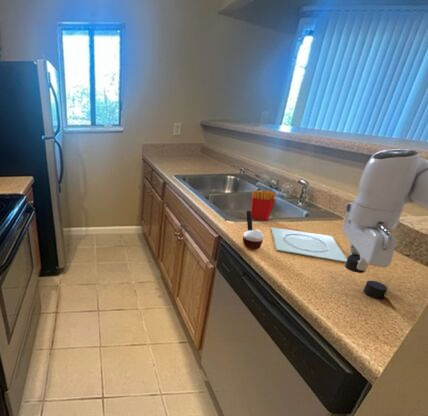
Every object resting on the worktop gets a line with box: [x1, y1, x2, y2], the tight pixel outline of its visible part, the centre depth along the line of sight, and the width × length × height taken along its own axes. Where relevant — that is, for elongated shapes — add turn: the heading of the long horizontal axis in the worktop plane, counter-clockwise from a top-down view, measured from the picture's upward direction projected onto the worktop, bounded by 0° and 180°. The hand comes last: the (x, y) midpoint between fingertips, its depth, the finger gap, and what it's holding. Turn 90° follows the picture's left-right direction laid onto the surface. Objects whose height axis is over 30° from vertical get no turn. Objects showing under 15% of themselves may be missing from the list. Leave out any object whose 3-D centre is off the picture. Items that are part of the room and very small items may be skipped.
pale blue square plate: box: [270, 226, 348, 264], centre depth 100 cm, size 20×20×1 cm
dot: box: [363, 280, 388, 300], centre depth 73 cm, size 4×4×3 cm
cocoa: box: [242, 210, 265, 250], centre depth 97 cm, size 10×6×12 cm, turn 159°
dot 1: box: [344, 255, 366, 274], centre depth 73 cm, size 4×4×3 cm
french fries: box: [250, 189, 277, 221], centre depth 120 cm, size 9×4×13 cm, turn 72°
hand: (356, 263), depth 73 cm, fingers closed on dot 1, 4 cm apart
